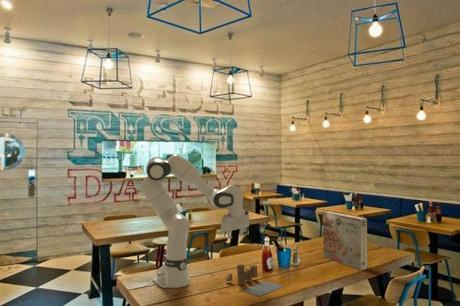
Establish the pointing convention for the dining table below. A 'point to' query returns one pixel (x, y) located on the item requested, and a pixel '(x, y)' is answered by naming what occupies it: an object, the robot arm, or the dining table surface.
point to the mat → (262, 288)
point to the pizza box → (345, 239)
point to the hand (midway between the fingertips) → (235, 237)
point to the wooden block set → (244, 274)
